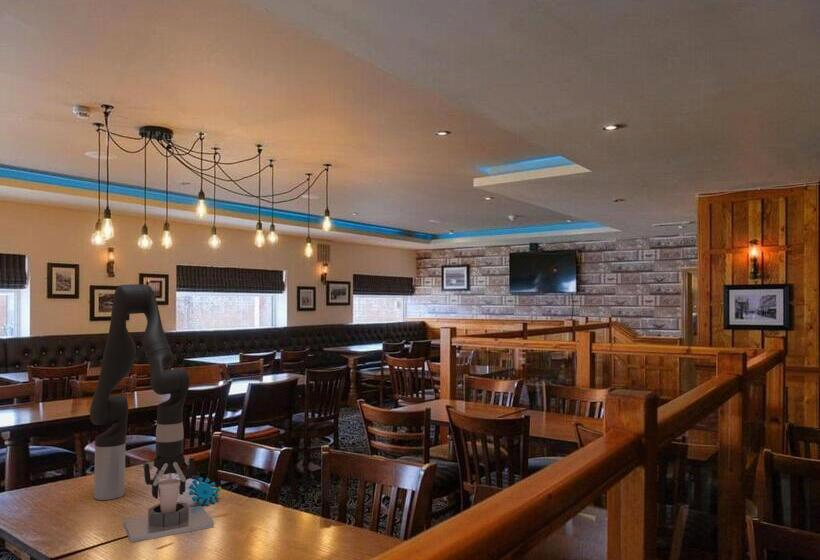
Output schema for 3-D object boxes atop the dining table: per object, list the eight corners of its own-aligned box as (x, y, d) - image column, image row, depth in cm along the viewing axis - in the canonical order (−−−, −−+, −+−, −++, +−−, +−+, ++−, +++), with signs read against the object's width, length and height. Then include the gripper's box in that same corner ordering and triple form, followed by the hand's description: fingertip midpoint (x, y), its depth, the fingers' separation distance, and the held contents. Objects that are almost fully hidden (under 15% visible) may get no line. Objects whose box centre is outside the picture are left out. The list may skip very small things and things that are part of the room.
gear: (194, 505, 189) (187, 477, 195) (186, 515, 191) (179, 487, 197) (226, 501, 196) (218, 474, 202) (218, 511, 199) (210, 485, 205)
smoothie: (184, 513, 178) (185, 465, 178) (169, 520, 172) (170, 470, 172) (167, 510, 180) (168, 463, 181) (151, 517, 174) (152, 468, 174)
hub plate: (123, 523, 177) (123, 506, 177) (201, 510, 188) (201, 494, 189) (130, 542, 163) (130, 523, 163) (213, 527, 175) (214, 509, 175)
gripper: (192, 432, 184) (191, 488, 183) (141, 438, 176) (139, 496, 176) (198, 437, 177) (197, 495, 177) (144, 443, 170) (143, 503, 169)
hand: (168, 495), depth 176 cm, fingers closed on smoothie, 6 cm apart
